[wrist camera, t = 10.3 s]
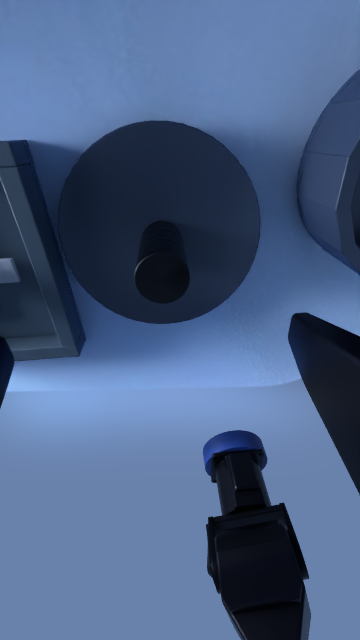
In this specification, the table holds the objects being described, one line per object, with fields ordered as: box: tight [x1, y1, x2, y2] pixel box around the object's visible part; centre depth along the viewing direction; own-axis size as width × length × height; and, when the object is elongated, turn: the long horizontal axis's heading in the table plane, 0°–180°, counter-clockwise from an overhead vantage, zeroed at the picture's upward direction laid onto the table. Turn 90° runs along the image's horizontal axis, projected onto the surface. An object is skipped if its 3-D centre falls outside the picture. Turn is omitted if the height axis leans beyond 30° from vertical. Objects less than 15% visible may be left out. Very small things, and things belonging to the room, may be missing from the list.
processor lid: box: [58, 121, 260, 324], centre depth 14 cm, size 11×11×6 cm
